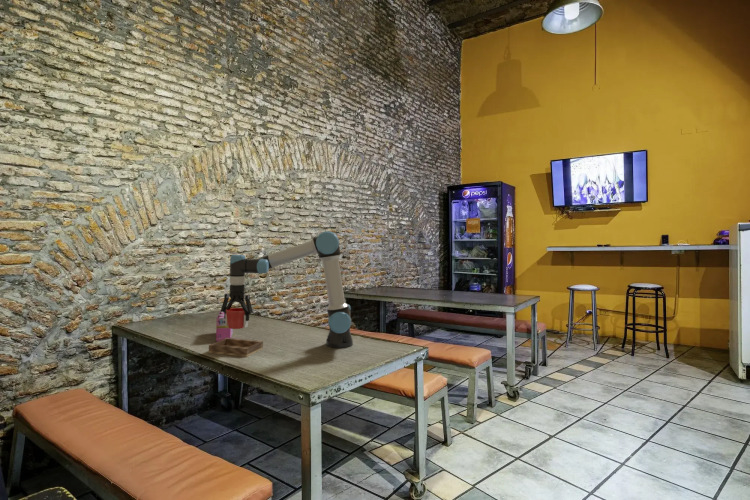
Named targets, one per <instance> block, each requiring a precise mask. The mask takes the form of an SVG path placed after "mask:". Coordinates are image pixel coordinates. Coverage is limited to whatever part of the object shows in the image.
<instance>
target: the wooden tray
mask: <svg viewBox="0 0 750 500" xmlns="http://www.w3.org/2000/svg"><path fill="white" fill-rule="evenodd" d="M263 349H264V341H263V340H254V339H253V340H252V339H241V338H232V337H231V338H226V339H223V340H221V341H215V342H214V343H210V344H209V345H208V353H209V354H216V355H217V354H218V355H225V356H237V357H246V358H247V357H249V356H252V355H253V354H255V353H257V352H259V351H261V350H263Z"/></svg>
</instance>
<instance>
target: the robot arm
mask: <svg viewBox="0 0 750 500" xmlns="http://www.w3.org/2000/svg"><path fill="white" fill-rule="evenodd" d="M339 239H340V238H339V237H338V235H337V234H336V233H335V232H333V231H331V230H327V231H323V232H321V233H320V234H318V236H315V237H312V238H311V240H308V241H306V242H303V243H300V244H298V245H294V246H291V247H288V248H285V249H283V250H279V251H276V252H273V253H271V254H267V255H265V256H261V257H258V258H246V256H245V254H232V255H230V260H229V293H224V294H223V296H224V298H223V303H222V304H221V310H220V311H221V312H224V319H225V326H228V322H227V315H226V309H227V310H229V309H230V308H232V307H233V304H234V303H239V304H240V306H241V308H243V310H244V312H245V315H244V328H248V326H249V321H250V314H253V313H254V310H253V307H252V304H251V300H250V299H251V298H250V297H251V295H250V294H245V289H246V288H245V287H246V285H245V281H246V279H245V278H246V276H245V275H246V274H260V275H261V274H268V272H269V270H270V269H273V268H276V267H279V266H282V265H284V264H288V263H291V262H294V261H298V260H301V259H303V258H306V257H309V256H312V255H315V254H316V255H318V259H320V260H321V261H322V266H323V272H324V280H325V286H326V292H327V293H326V294H327V298H328V299H327V300H328V306H327V308H326V310H327V311H326V312H327V317H328V323H327V324H328V326H329V332H328V334H327V338H326V341H325V344H326V346H327V347H330V348H336V349H337V348H338V349H339V348H340V349H341V348H350V347H352V346H353V345H354V341H353V337H352V333H351V325H352V319H351V310H352V308H351V305H350V304H348V303H346V299H345V294H344V293H345V292H344V287H343V280H342V274H341V273H342V272H341V267H340V260H339V259H340V257H341V255H342V254H341V249H340V248H341V247H340V241H339Z"/></svg>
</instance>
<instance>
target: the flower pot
mask: <svg viewBox="0 0 750 500" xmlns="http://www.w3.org/2000/svg"><path fill="white" fill-rule="evenodd" d="M226 315H227V322H228V327H229V328H230V329H233V330H239V329H240V330H241V329H243V328H245V327H244V315H245V312H244V310H243V308H242V307H231V308H230V309H229V310H227V309H226Z"/></svg>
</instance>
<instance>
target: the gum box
mask: <svg viewBox="0 0 750 500" xmlns="http://www.w3.org/2000/svg"><path fill="white" fill-rule="evenodd" d="M215 323H216V326H215V330H216V333H215V340H216V341H215V342H218V341H221V340H223V339H226V338H232V336H233V334H234V329H230V328H229V327H228V326H225V319H224V312H221V310H220V311H219V312H218V314H217V317H216V322H215Z"/></svg>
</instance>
